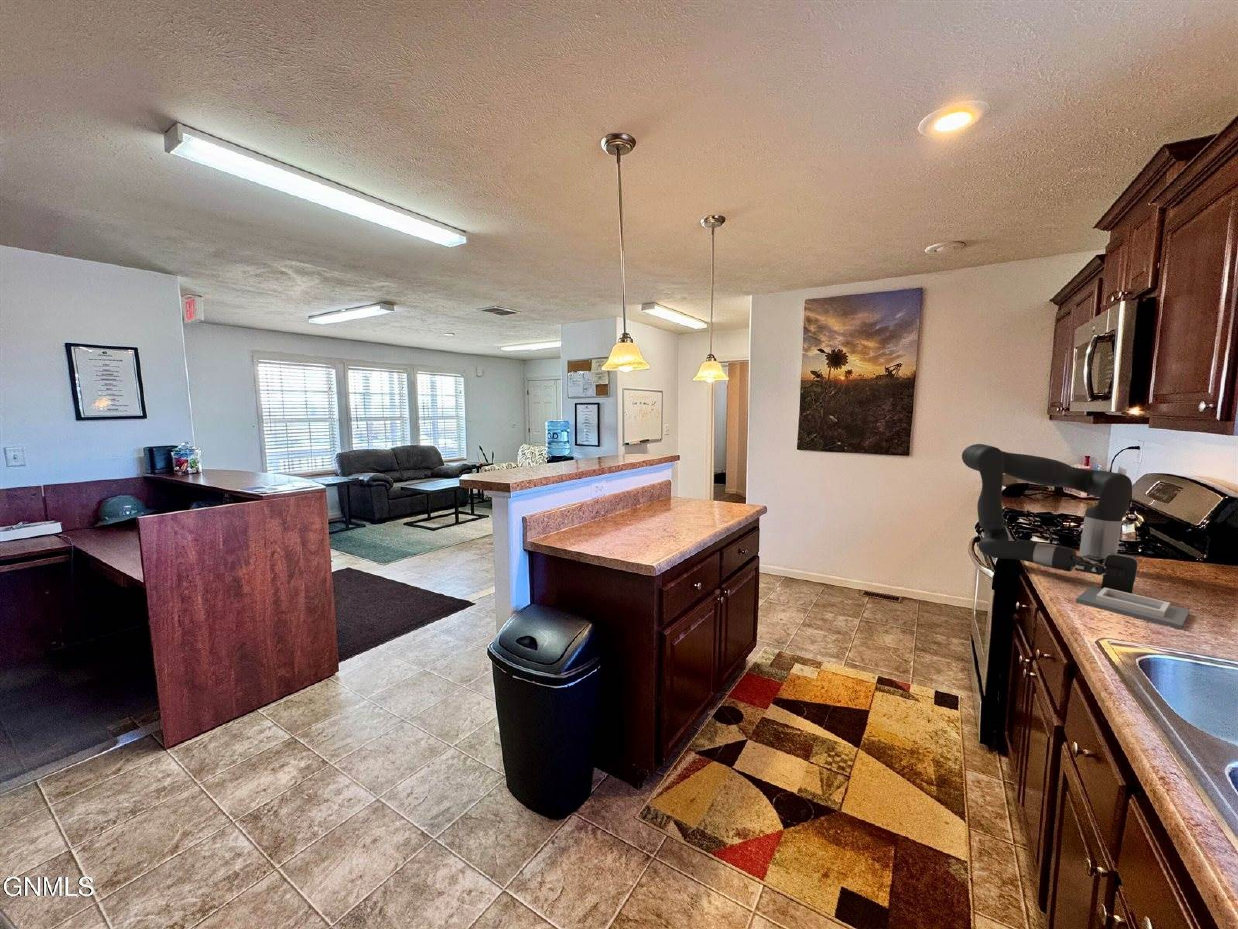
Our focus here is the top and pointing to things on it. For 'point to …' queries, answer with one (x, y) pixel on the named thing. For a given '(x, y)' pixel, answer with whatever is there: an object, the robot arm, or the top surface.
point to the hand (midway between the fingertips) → (1126, 571)
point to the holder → (1135, 606)
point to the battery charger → (1125, 564)
